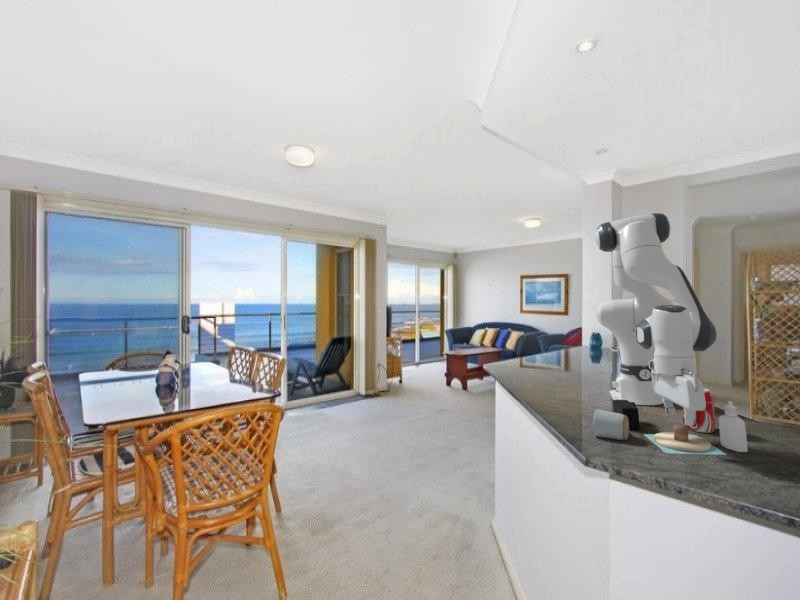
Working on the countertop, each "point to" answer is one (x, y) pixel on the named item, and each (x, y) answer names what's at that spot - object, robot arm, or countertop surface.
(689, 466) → the countertop surface
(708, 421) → the soda can
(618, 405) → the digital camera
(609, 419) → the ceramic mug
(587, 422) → the countertop surface
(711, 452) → the teal mat
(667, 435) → the birch lid
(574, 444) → the countertop surface
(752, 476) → the countertop surface
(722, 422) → the eye dropper bottle
